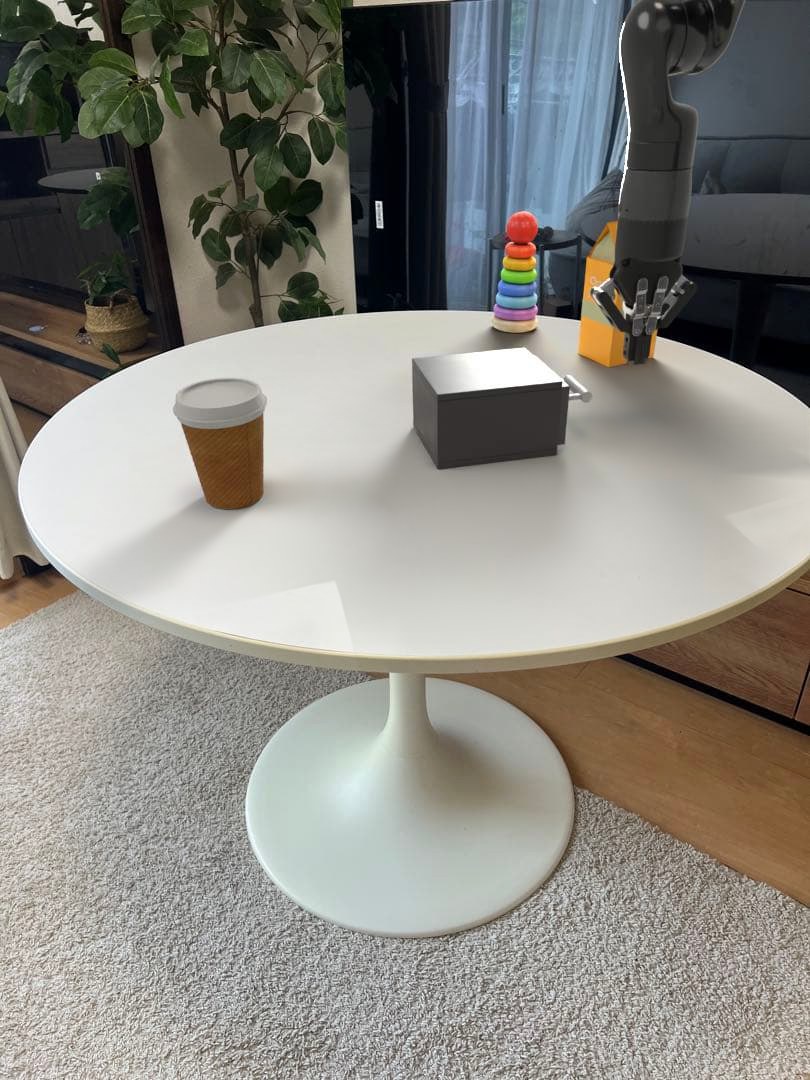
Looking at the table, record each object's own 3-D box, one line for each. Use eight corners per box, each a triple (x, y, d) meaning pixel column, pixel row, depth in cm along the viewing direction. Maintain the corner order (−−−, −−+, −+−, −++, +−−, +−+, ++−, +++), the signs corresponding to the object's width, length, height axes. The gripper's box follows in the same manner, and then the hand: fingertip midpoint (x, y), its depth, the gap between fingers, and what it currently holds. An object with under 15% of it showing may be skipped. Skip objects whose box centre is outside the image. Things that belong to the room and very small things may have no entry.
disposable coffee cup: (186, 484, 89) (166, 383, 83) (269, 470, 92) (256, 371, 85) (195, 524, 81) (175, 416, 75) (286, 507, 84) (273, 401, 78)
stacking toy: (498, 335, 133) (502, 217, 123) (486, 322, 139) (490, 209, 130) (543, 332, 134) (551, 214, 124) (529, 319, 140) (536, 206, 131)
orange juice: (654, 357, 121) (674, 219, 111) (608, 367, 118) (625, 226, 108) (620, 343, 127) (637, 211, 117) (576, 353, 124) (589, 218, 114)
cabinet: (521, 414, 104) (524, 347, 99) (556, 454, 93) (562, 381, 88) (413, 426, 101) (411, 358, 97) (437, 469, 91) (437, 394, 86)
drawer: (561, 405, 104) (566, 351, 100) (598, 440, 94) (604, 382, 90) (431, 420, 101) (431, 365, 97) (455, 457, 91) (456, 398, 87)
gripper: (611, 222, 83) (597, 379, 92) (726, 212, 85) (700, 367, 94) (583, 211, 89) (572, 359, 98) (690, 202, 92) (669, 348, 101)
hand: (635, 363), depth 96 cm, fingers closed
